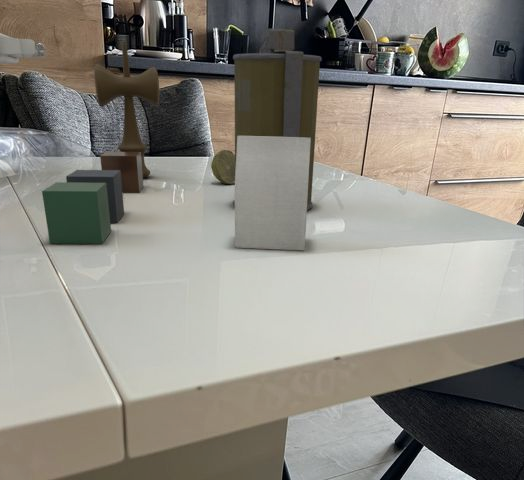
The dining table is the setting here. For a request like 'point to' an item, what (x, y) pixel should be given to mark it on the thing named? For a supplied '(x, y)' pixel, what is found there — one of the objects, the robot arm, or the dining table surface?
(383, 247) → the dining table surface
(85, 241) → the forest green block
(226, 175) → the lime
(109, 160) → the walnut block
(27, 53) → the robot arm
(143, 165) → the kendama
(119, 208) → the slate block
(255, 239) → the light grey block
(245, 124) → the canister
